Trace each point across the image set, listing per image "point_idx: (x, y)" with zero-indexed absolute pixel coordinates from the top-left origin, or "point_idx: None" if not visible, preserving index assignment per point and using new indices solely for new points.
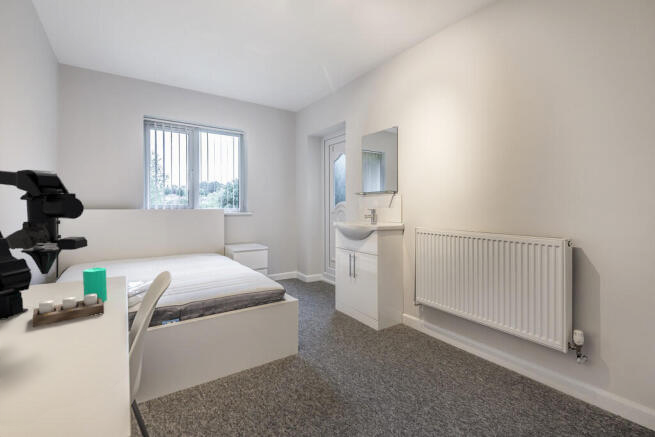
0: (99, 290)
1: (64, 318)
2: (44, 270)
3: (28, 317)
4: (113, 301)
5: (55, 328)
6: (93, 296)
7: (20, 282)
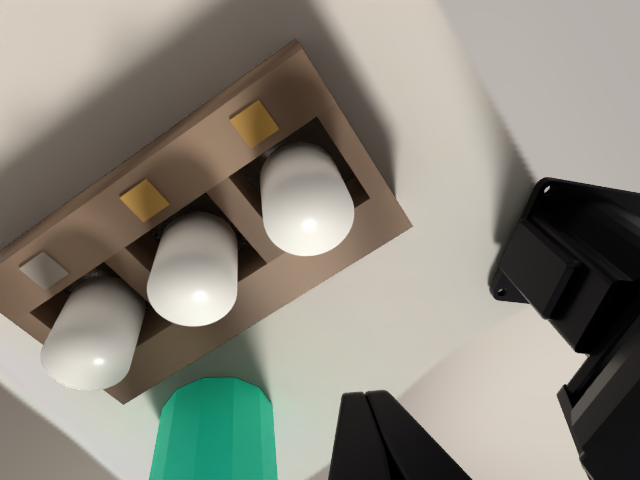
0: (160, 465)
1: (158, 140)
2: (351, 434)
3: (430, 204)
4: (105, 415)
5: (119, 2)
6: (45, 342)
7: (615, 382)
